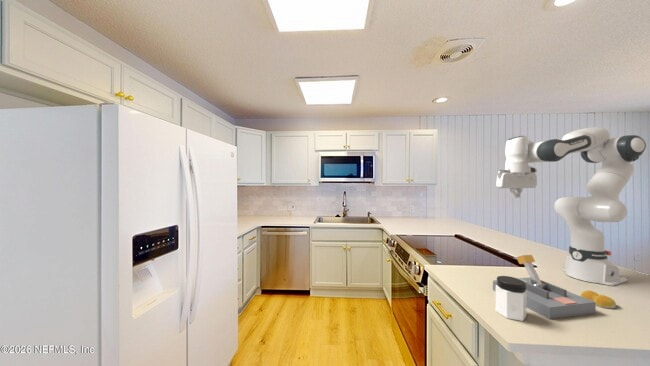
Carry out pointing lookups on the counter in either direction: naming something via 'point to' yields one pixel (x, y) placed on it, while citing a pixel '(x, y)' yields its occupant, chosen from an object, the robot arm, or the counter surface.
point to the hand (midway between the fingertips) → (516, 197)
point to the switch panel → (555, 301)
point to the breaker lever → (531, 270)
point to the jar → (511, 298)
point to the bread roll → (599, 299)
